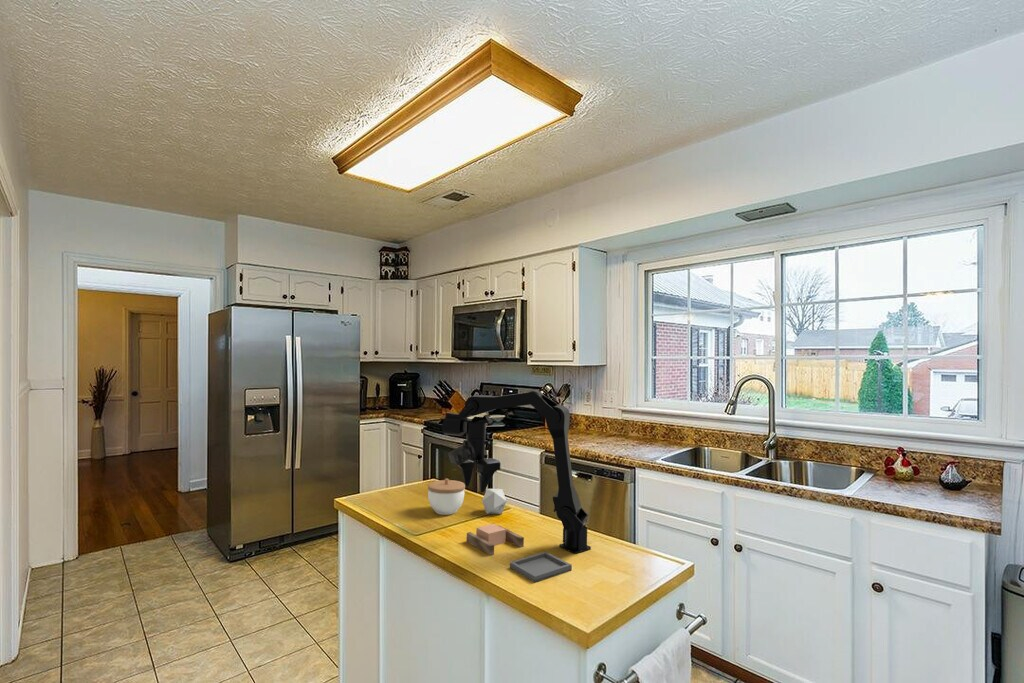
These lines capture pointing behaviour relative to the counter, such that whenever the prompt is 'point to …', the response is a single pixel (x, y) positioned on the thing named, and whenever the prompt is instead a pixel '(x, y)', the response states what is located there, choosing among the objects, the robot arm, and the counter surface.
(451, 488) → the lidded bowl
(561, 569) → the tray
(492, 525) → the block
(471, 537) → the corridor rails
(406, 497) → the counter surface
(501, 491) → the die
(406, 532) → the counter surface
